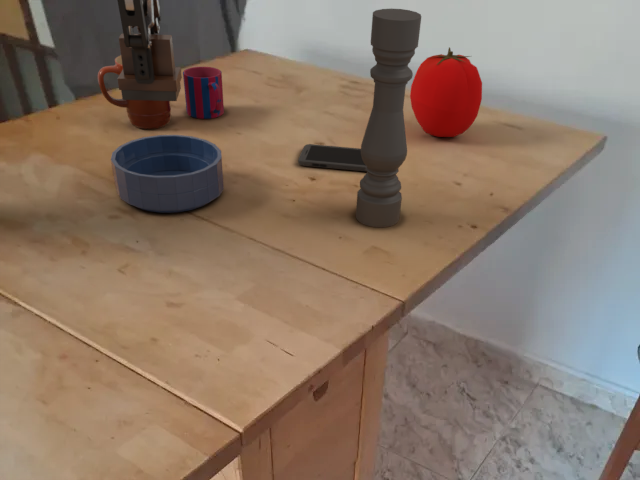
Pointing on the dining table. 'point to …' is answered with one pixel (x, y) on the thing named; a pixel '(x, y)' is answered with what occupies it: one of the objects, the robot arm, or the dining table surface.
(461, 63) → the tomato
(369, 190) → the candle holder
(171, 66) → the brown wooden stepped block
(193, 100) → the cup
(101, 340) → the dining table surface
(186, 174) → the bowl
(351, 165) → the cell phone
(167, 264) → the dining table surface
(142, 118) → the mug
